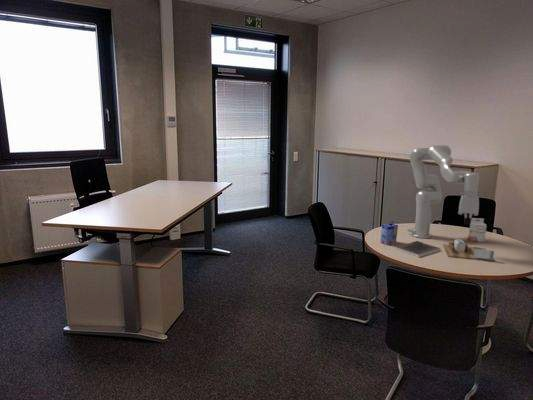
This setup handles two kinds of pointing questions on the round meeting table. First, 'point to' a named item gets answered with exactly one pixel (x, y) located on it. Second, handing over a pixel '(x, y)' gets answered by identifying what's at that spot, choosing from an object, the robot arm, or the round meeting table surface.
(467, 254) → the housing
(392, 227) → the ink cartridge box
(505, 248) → the round meeting table surface
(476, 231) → the ink cartridge box
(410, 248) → the picture frame
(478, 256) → the gate
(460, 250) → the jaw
